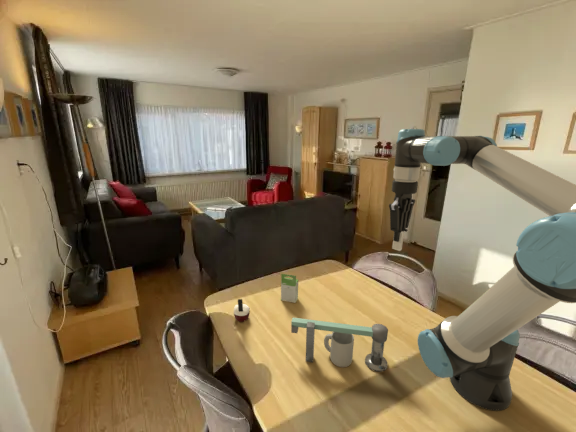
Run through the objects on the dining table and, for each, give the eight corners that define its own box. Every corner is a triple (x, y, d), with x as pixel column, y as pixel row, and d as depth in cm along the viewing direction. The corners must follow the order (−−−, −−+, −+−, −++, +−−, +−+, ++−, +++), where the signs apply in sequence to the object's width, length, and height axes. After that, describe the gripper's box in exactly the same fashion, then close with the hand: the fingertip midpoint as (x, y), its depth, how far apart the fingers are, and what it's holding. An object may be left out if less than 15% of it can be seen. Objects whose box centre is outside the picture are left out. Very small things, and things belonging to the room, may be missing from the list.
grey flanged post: (391, 364, 92) (394, 339, 89) (379, 375, 87) (382, 350, 85) (372, 351, 97) (375, 328, 94) (360, 362, 92) (363, 337, 90)
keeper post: (313, 357, 94) (314, 322, 91) (312, 362, 92) (314, 327, 88) (306, 356, 95) (307, 321, 91) (305, 361, 93) (306, 326, 89)
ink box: (298, 298, 128) (298, 271, 124) (295, 303, 124) (296, 276, 121) (283, 295, 130) (283, 269, 126) (280, 300, 126) (280, 273, 123)
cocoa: (239, 312, 118) (238, 286, 116) (253, 314, 117) (252, 288, 114) (229, 326, 109) (226, 298, 107) (243, 328, 108) (242, 300, 105)
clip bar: (385, 337, 92) (386, 324, 90) (387, 348, 87) (389, 334, 86) (293, 325, 97) (293, 313, 96) (290, 335, 92) (290, 322, 91)
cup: (347, 371, 89) (349, 348, 86) (318, 358, 94) (319, 335, 91) (355, 356, 95) (357, 334, 92) (328, 345, 100) (329, 323, 97)
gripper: (404, 176, 96) (396, 241, 102) (383, 180, 87) (376, 251, 94) (426, 179, 90) (416, 247, 97) (406, 183, 82) (397, 258, 89)
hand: (396, 249), depth 96 cm, fingers closed
